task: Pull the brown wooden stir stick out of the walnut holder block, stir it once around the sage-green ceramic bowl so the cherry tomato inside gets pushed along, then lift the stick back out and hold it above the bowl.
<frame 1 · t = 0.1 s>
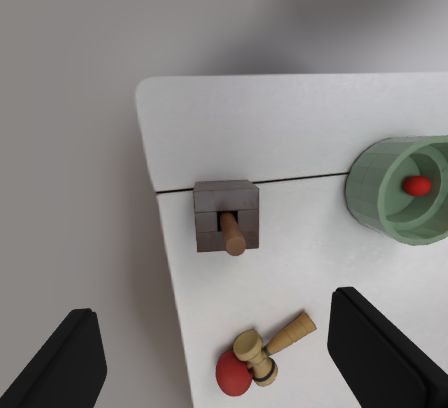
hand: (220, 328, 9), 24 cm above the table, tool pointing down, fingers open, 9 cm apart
holder: (222, 206, 33), on the table
stick: (227, 221, 26), in the holder
cherry tomato: (417, 186, 33), point 2 cm above the table, touching mixing bowl
mixing bowl: (386, 184, 34), on the table
kendama: (261, 337, 39), on the table
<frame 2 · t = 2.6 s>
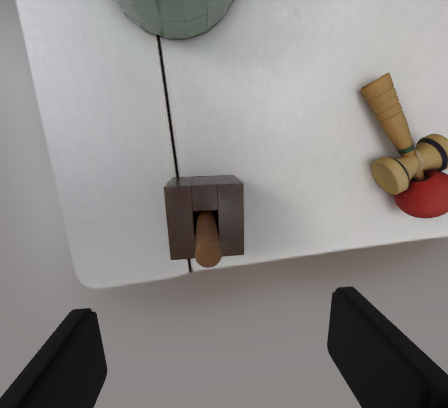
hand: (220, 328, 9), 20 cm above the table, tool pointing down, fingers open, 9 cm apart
holder: (204, 205, 29), on the table
stick: (206, 222, 22), in the holder
kendama: (386, 150, 30), on the table
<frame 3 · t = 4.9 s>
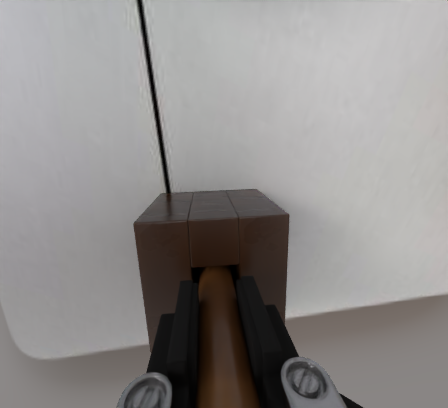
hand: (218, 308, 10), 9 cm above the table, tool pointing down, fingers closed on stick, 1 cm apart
holder: (211, 235, 18), on the table
stick: (216, 287, 12), in the holder, touching gripper
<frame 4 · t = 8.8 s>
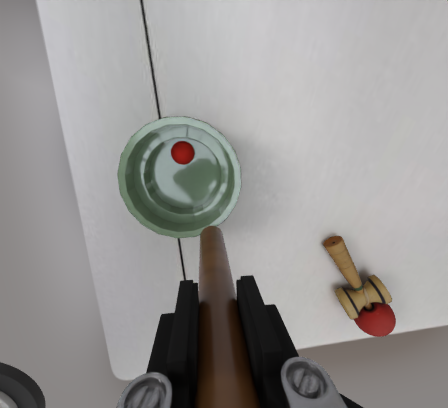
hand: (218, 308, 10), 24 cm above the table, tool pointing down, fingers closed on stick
stick: (216, 286, 12), point 22 cm above the table, touching gripper
cherry tomato: (182, 152, 29), point 2 cm above the table, touching mixing bowl
mixing bowl: (185, 174, 32), on the table
kendama: (346, 277, 39), on the table
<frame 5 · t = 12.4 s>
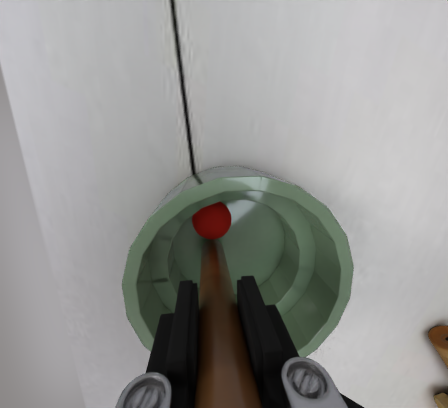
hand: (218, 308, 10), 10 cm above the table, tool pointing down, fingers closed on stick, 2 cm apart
stick: (216, 294, 12), point 8 cm above the table, tilted 7°, touching gripper
cherry tomato: (211, 219, 17), point 2 cm above the table, tilted 13°, touching mixing bowl
mixing bowl: (229, 243, 20), on the table
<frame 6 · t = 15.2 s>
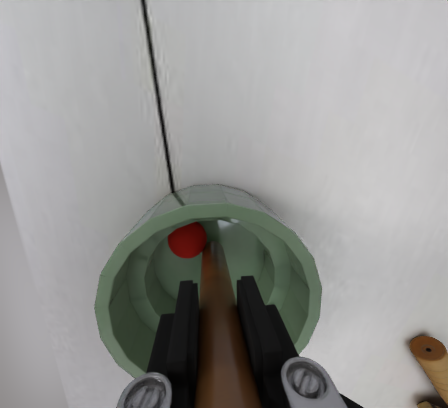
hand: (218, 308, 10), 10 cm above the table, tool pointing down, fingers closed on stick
stick: (216, 295, 12), point 8 cm above the table, tilted 7°, touching cherry tomato, gripper
cherry tomato: (187, 238, 18), point 2 cm above the table, tilted 11°, touching mixing bowl, stick
mixing bowl: (210, 258, 21), on the table
kendama: (433, 384, 27), on the table
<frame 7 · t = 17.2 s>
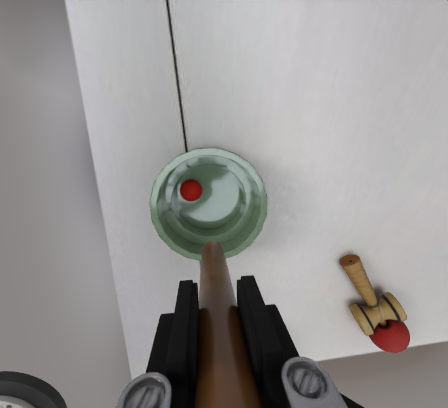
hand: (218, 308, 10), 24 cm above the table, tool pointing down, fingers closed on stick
stick: (216, 295, 12), point 22 cm above the table, tilted 7°, touching gripper
cherry tomato: (191, 190, 31), point 2 cm above the table, tilted 38°, touching mixing bowl
mixing bowl: (208, 195, 33), on the table
kendama: (361, 293, 40), on the table
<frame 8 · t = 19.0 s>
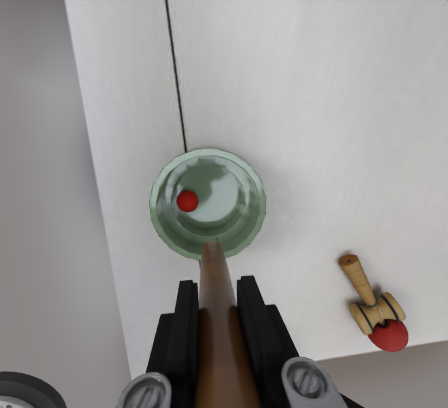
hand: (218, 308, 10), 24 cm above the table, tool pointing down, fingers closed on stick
stick: (216, 295, 12), point 22 cm above the table, tilted 7°, touching gripper
cherry tomato: (187, 201, 31), point 2 cm above the table, tilted 95°, touching mixing bowl
mixing bowl: (208, 195, 33), on the table
kendama: (359, 293, 40), on the table
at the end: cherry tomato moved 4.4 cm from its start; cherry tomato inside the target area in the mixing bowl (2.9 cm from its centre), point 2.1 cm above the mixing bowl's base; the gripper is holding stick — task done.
